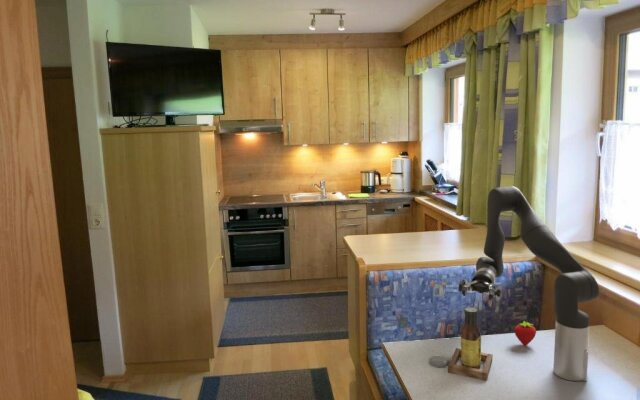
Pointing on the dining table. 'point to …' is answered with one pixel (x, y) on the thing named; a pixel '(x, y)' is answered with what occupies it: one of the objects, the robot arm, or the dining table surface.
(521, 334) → the strawberry
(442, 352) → the dining table surface
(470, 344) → the sauce bottle
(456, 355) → the pocket frame
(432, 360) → the coaster
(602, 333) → the dining table surface
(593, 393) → the dining table surface
